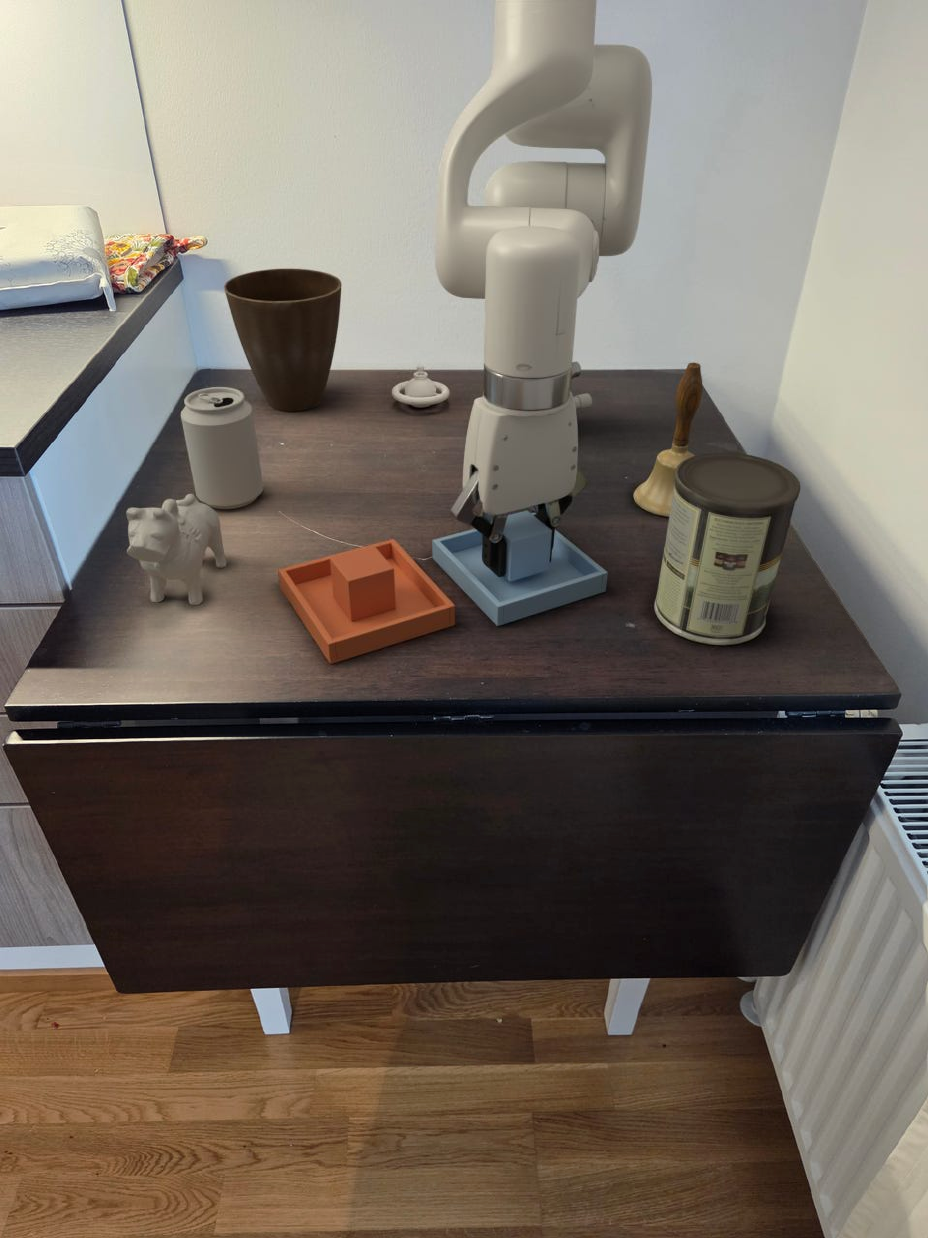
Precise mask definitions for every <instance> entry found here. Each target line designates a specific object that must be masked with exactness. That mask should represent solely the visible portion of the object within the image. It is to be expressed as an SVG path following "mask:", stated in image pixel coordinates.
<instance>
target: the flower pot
mask: <svg viewBox="0 0 928 1238" xmlns="http://www.w3.org/2000/svg"><path fill="white" fill-rule="evenodd" d="M342 285H343V284H342V281H341V279H339V278H338V277H337V276H335V275H333V274H331V273H329V272H328V273H327V272H326V271H325V272H324V271H320V270H315V269H308V268H307V269H306V268H270V269H261V270H255V271H250V272H246V273H242V274H239V275H237V276H234V277H231V278H230V279H229V280H227V281H226V282H225V283H224V286H223V289H224V293H225V297H226V299H227V303H228V308H229V311H230V314H231V318H232V322H233V324H234V327H235V330H236V333H237V336H238V339H239V343H240V345H241V348H242V350H243V352H244V355H245V358H246V360H247V363H248V365H249V367H250V369H251V371H252V375H253V376H254V378H255V380H256V383H257V384H258V387H259V388H260V391H261V392H262V393H261V394H262V395H263V396H264V398H265V400H266V402H267V404H268V406H270V407H271V408H273V409H275V410H277V411H281V412H303V411H307V410H311V409H314V408H316V407H318V406H319V405H320V404H321V403H322V401H323V397H324V394H325V391H326V387H327V383H328V380H329V377H330V373H331V368H332V364H333V359H334V354H335V350H336V349H335V348H336V345H337V344H336V343H337V338H338V331H339V324H340V323H339V322H340V314H341V300H342Z"/></svg>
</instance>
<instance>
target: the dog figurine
mask: <svg viewBox="0 0 928 1238" xmlns="http://www.w3.org/2000/svg"><path fill="white" fill-rule="evenodd" d="M125 514H126V518H127V521H128V526H127V534H128V535H127V536H128V542H129V547H128V548H127V550H126V554H127V555H128V556H129V557H131V558H132V559H135V560H137V561H139V563H140V566H141V568H142V569H143V571H145V572H146V573H147V574H148V575H149V578H150V596H149V597H150V601H151V602H152V603H159V602H162V601H163V600H165V598H166V594H165V592H166V586H167V580H180V581H181V582H182V583H184V584H185V587H186V589H187V593H188V597H187V598H188V602H189V604H190V605H192V606H199V605H200V604H201V603H203V601H204V598H203V590H202V577H201V570H202V567H203V559H204V558H205V556H206V551H207V548H209V549H210V550H211V552H212V553H213V555H214V558H215V565H216V567H217V568H222V569H223V568H225V567H227V559H226V555H225V549H224V543H223V536H222V529H221V522H220V518H219V515H218V513H217V512H216V511H215V509H214V508H213V507H211V506H209V505H207V504H206V503H204V502H199V499H198V498H197V497H196V495H194V494H193V493H188V494H186V496H185V497H184V498H183V499H177V500H176V499H174V498H167V499H165V500H164V502H162V506H161V507H129V508H127V510H126V511H125Z"/></svg>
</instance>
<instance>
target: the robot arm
mask: <svg viewBox="0 0 928 1238" xmlns="http://www.w3.org/2000/svg"><path fill="white" fill-rule="evenodd" d="M494 2H495V3H494V25H493V26H494V27H493V46H492V47H493V49H492V56H493V57H492V68H491V72H490V75H489V77H488V79H487V81H486V82H485V83H484V84H483V86H482V87H480V89H479V90H478V91H477V93H476V94H475V95H474V96H473V97H472V99H470V101H469V102H468V103H467V105H466V106H465V108H464V109H463V110H462V112H461V113H460V114H459V116H458V118H457V119H456V121H455V124H454V125H453V127H452V128H451V130H450V133H449V135H448V137H447V140H446V142H445V143H444V147H443V150H442V154H441V157H440V160H439V167H438V171H437V179H436V190H435V191H436V193H435V195H436V197H435V198H436V199H435V219H434V220H435V221H434V222H435V223H434V265H435V266H434V267H435V271H436V275H437V279H438V282H439V283H440V285H441V287H442V288H443V289H444V290H445V291H446V292H447V293H449V294H450V295H452V296H455V297H458V298H461V299H473V300H484V332H483V333H484V335H483V337H484V341H483V381H482V383H483V385H482V396H480V397H477V398H475V399H474V401H473V404H472V408H471V412H470V415H469V419H468V424H467V425H468V426H467V431H466V435H465V445H464V455H463V468H462V491H461V492H460V494H459V496H458V497H457V499H456V500H455V502H454V504H452V507H451V508H450V514H451V516H452V517H454V519H456V520H457V522H460V523H462V524H464V525H467V526H468V527H472V529H476V530H477V531H479V532H480V533H481V534H482V561H483V563H484V564H485V566H487V567H488V568H489V569H490V570H491V571H492V572H493V573H494V574H496V575H497V576H498V577H503V576H504V575H505V573H506V551H507V543H506V541H505V540H504V539H503V538H502V536H503V532H504V528H505V524H506V521H507V517H508V515H509V513H511V512H516V511H520V510H523V509H527V508H530V507H534V508H535V513H536V514H535V515H534V516H535V517H536V518H537V519H538V520H540V521H541V522H542V523H543V524H545V525H546V526H547V527H548V528H549V529H551V530H552V535H551V548H550V561H549V563H550V562H551V558H552V549H553V546H554V534H555V530H556V527H558V526H560V524H561V523H562V515H564V513H565V512H566V510H567V509H569V507H570V505H571V504H572V503H573V499H576V498H577V497H578V496H579V494H581V493H582V492H583V491H584V490H585V489H586V487H587V486H588V481H587V480H586V478H585V476H584V475H583V474H582V472H581V471H580V469H579V468H578V461H579V459H578V458H579V429H578V428H579V427H578V417H577V416H578V415H577V411H581V410H586V409H590V408H592V405H593V399H592V397H591V395H590V394H589V393H588V392H587V393H582V394H576V395H573V392H572V391H571V388H572V386H571V385H572V380H573V379H574V378H579V377H580V376H581V373H582V366H581V364H580V362H579V361H573V357H574V346H575V334H576V322H577V309H578V300H579V298H580V297H581V296H582V295H583V293H584V292H585V291H586V289H587V287H588V286H589V284H590V283H592V282H593V281H594V280H595V277H596V274H597V270H598V265H599V260H600V257H615V256H620V255H623V254H625V253H626V252H628V250H630V249H631V247H632V245H633V244H634V242H635V240H636V237H637V234H638V233H637V232H638V229H639V224H640V223H639V222H640V215H641V209H642V201H643V189H644V180H645V171H646V163H647V161H646V160H647V154H648V153H647V152H648V143H649V133H650V123H651V116H652V115H651V114H652V112H651V111H652V103H653V102H652V100H653V78H652V77H653V75H652V71H651V65H650V63H649V60H648V58H647V56H646V55H645V53H643V51H641V49H638V48H636V47H635V46H631V45H625V44H598V43H597V44H596V43H595V35H596V34H595V32H596V18H597V2H598V1H597V0H494ZM502 136H505V137H506V138H507V140H509V141H510V142H511V143H513V144H515V145H518V146H521V147H528V148H541V149H573V150H574V149H575V150H596V151H598V152H600V153H601V154H602V155H603V158H604V162H567V161H545V160H543V161H542V160H541V161H540V160H538V161H537V160H535V161H534V160H533V161H531V160H528V161H517V162H512V163H509V164H508V163H507V164H505V165H503V166H501V167H500V168H498V169H496V170H495V171H494V172H493V173H492V174H491V176H490V177H489V179H488V180H487V183H486V185H485V190H484V197H483V205H469V203H468V199H469V198H468V197H469V187H470V183H471V182H470V181H471V177H472V173H473V170H474V168H475V166H476V164H477V162H478V160H480V157H481V156H482V154H483V153H484V152H486V150H487V149H488V148H489V147H490V146H491V145H492V144H494V143H495V142H496V141H497V140H499V138H501V137H502ZM479 501H480V502H481V508H480V511H479V512H477V511H475V510H474V509H475V507H476V505H477V504H478V502H479ZM492 519H493V520H492ZM491 522H492V524H491Z"/></svg>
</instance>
